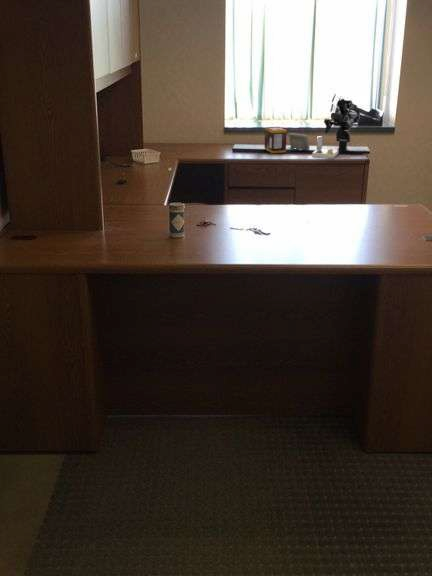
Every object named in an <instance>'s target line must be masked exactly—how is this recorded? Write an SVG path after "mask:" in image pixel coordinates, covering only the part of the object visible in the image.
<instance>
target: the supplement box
mask: <svg viewBox="0 0 432 576" xmlns="http://www.w3.org/2000/svg"><path fill="white" fill-rule="evenodd" d="M264 148H265V149H267V150H266V151H267V152H269V153H271V154H280V153H281V154H282V153H287V129H286V128H282V127H280V126H266V127H264ZM265 149H264V150H265Z"/></svg>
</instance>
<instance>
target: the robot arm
mask: <svg viewBox="0 0 432 576" xmlns="http://www.w3.org/2000/svg"><path fill="white" fill-rule="evenodd" d="M336 103H337V104H336V105H337V109H338V113H337V112H331V114H330V118H331V119H332V120H331V119H330V118H324V120H323V122H324V125H325V132H324V133H325V134H327V133H328V132H329V131H330V130H331V129H332V126H338V127H339V128H338V129H337V132H336V136H335V139H336V142H338V148H337V149H336V150H338V151H340V150H341V151H343V152H346V150H347V149H348V143H349V142H351V135H350V131H351V129H352V127H353V126H354V124H356V123H358V122H359V120H360V119H361V113H360V112H361V111H360V110H359V108H358V106H357V104H354V103H353V100H351V99H345V98H341V99H340V100H338V101H337V102H336ZM350 111H354V112H350ZM346 118H347V121H346ZM347 151H348V150H347Z"/></svg>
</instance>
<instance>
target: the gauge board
mask: <svg viewBox="0 0 432 576" xmlns="http://www.w3.org/2000/svg"><path fill="white" fill-rule="evenodd" d="M316 151H317V149H315V150H314V151H313V152H312V155H311V156H312V157H314V158H325V159H334V158H335V157H336V156H338V154H339V150H337V149H333V148H322V153H316Z"/></svg>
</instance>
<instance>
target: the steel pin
mask: <svg viewBox="0 0 432 576" xmlns="http://www.w3.org/2000/svg"><path fill="white" fill-rule="evenodd" d="M323 140H324V137H323V135H319V136H318V135H317V137H316V150H317V151H316V153H322V149H323Z"/></svg>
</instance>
